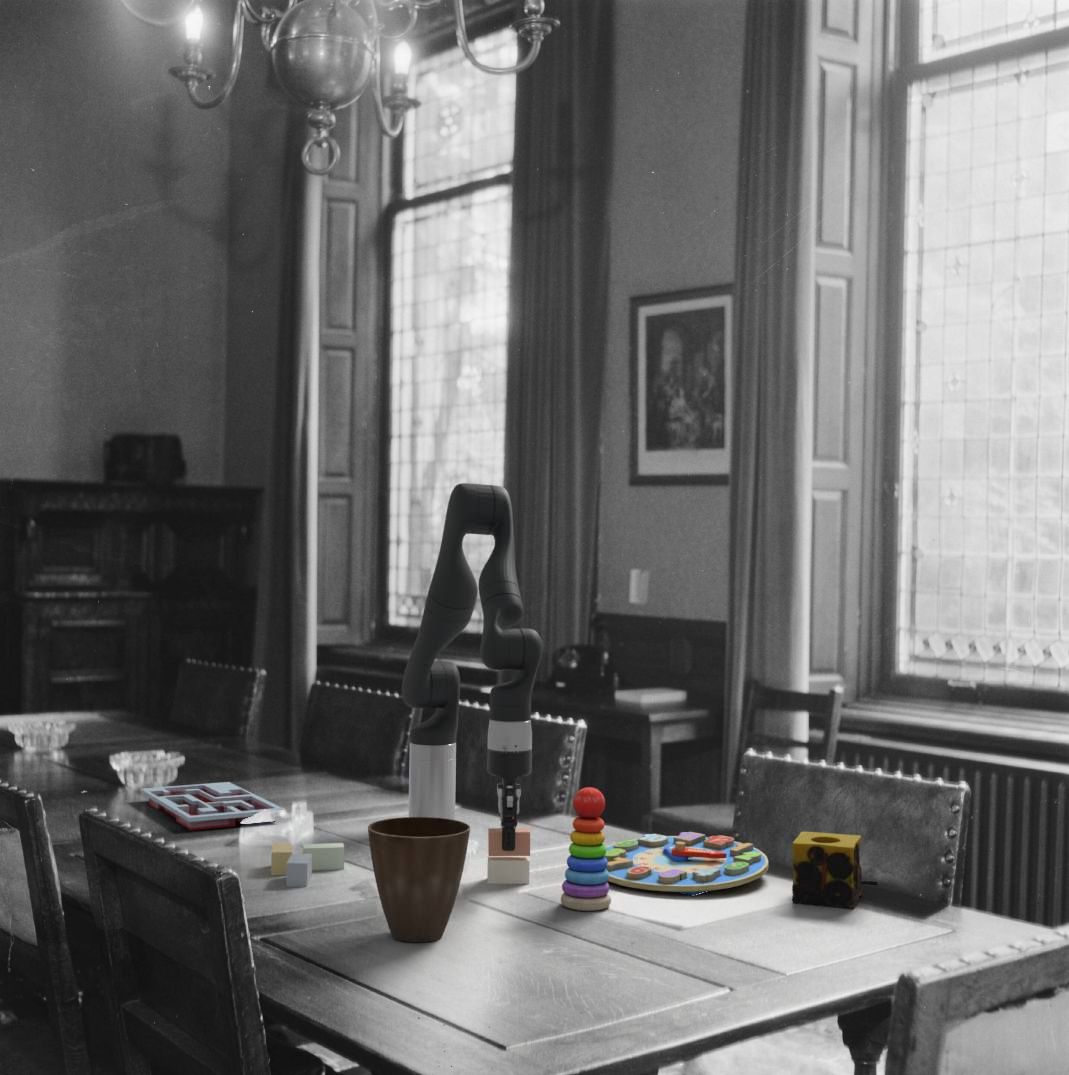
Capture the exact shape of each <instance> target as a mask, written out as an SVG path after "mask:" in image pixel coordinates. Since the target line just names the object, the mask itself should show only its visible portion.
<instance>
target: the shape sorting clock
mask: <svg viewBox="0 0 1069 1075" xmlns="http://www.w3.org/2000/svg"><path fill="white" fill-rule="evenodd" d="M605 846H606V845H605ZM606 849H607V851H606V854H605V856H604V857H605V858H606V859H607V861H608V865H607V867H606V868H605V869H607V871H608V872H609V878H608V880H607V881H606V882H609V883H612V884H616V885H619V886H623V887H628V888H633V889H638V890H639V889H640V890H647V891H656V892H657V891H658V892H671V893H672V892H673V893H674V892H675V893H678V892H682V893H681V894H683V893H685V894H684V895H687V894H690V895H689V896H691V895H696V894H699V893H702V892H706V891H709V892H711V891H710V890H712V891H717V890H723V889H729V888H734V887H738V886H742V885H745V884H748V883H750V882H753V881H755V880H757V879H760V878H761V877H762V876H764V875H765V874H766V873H767V872H768V870H769V859H768V856H767V855H766V854H765V853H764V852H763V851H761V850H760V849H758V848H756V847H754V843H750V842H746V843H745V842H744V843H742V842H739V841H735V838H734V837H732V836H728V835H727V836H726V835H720V834H719V835H711V836H708V837H707V836H706V834H704V833H700V832H694V831H688V832H687V831H686V832H685V831H682V832H680V833H679V834H678V835H663V834H658V833H651V834H649V833H646V834H643V835H642V837H640V838H635V839H634V838H633V839H630V840H622V841H620V842H619V841H618V842H616V843H612V844H610V845H607V846H606ZM706 893H707V892H706ZM702 894H703V893H702ZM699 895H700V894H699ZM696 896H697V895H696Z"/></svg>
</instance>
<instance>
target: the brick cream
mask: <svg viewBox="0 0 1069 1075" xmlns="http://www.w3.org/2000/svg"><path fill="white" fill-rule="evenodd" d="M486 876H487V878H486V879H487V884H496V885H498V884H500V885H501V884H502V885H503V884H504V885H505V884H507V885H508V884H510V885H511V884H512V885H513V884H514V885H516V884H517V885H528V884H530V856H489V855H488V856H487V875H486Z"/></svg>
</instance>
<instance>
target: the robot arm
mask: <svg viewBox="0 0 1069 1075" xmlns="http://www.w3.org/2000/svg"><path fill="white" fill-rule="evenodd" d="M446 507H447V509H446V514H445V520H444V525H443V531H442V536H441V537H442V538H441V541H440V548H439V551H438V556H437V561H436V564H435V567H434V572H433V574H432V578H431V582H430V585H429V588H428V592H427V596H426V599H425V604H424V608H423V612H422V613H423V614H422V617H421V622H420V626H419V630H418V632H417V636H416V640H415V641H414V645H413V646H412V647H413V648H412V650H411V653H410V655H409V658H408V660H407V664H406V667H405V670H404V672H403V678H402V683H401V695H402V700H403V702H404V704H405V705H406V706H407V707H409V708H413V709H436V710H435V711H434V713H433V714H432V716H431V717H430V718H429V719H427V720H425V721H423V722H421V723H419V724H416V725H414V726H412V727H411V728H410V731H409V764H408V766H409V767H408V768H409V771H408V772H409V773H408V776H409V777H408V779H409V780H408V817H434V818H445V819H452V820H456V787H457V786H456V783H457V782H456V781H457V780H456V778H457V777H456V774H457V771H456V770H457V769H456V768H457V766H456V765H457V757H456V756H457V735H458V734H457V733H458V728H459V727H458V725H459V708H460V707H459V706H460V696H461V694H460V693H461V677H460V672H459V669H458V666H457V665H456V663H454V662H452V661H449V660H445V661H443V660H442V661H441V660H439V661H435V660H436V659H437V657H438V656H439V654H441V652H442V651H443V650H444V649H445V648H446V647H447V646H448V645H449V644H450V643H452V642H453V640H455V638H457V637H458V636H459V635H460V634H461V633H462V632H463V631H464V630H465V629H466V628H467V626H468V625H469V624H470V622H471V619H472V617H473V612H474V609H475V607H476V602H477V598H478V594H479V600H480V604H481V605H480V606H481V609H482V616H483V618H482V619H483V624H482V626H483V627H482V628H483V629H482V636H481V641H480V648H479V655H480V659H481V661H482V663H483V665H484V666H485V667H486V668H488V669H489V670H493V671H517V673H516V675H515V677H513V679H512V680H510V681H508V682H502V683H499V684H496V685H494V686H492V687H491V689H490V693H489V722H488V729H487V757H486V758H487V759H486V761H487V762H486V764H487V766H486V767H487V768H486V772H487V773H488V774H489V775H491V776H493V777H500V778H501V783H497V786H496V791H497V792H496V793H497V794H496V795H497V797H498V800H497V801H498V803H497V805H498V806H497V807H498V813H499V815H500V818H499V821H500V827H501V828H502V850H504V851H513V850H515V828H517V826H518V818H517V817H518V814H519V813H520V797H521V795H522V786H521V783H517V779H518V778H519V777H527V776H529V775H530V774H531V773H532V767H533V766H532V764H533V763H532V762H533V761H532V759H533V756H532V755H533V753H532V752H533V751H532V750H533V747H532V746H533V730H532V722H531V721H532V720H531V718H532V714H531V713H532V693H533V689H534V686H535V679H536V677H537V673H538V669H539V666H540V663H541V660H542V655H543V649H544V648H543V647H544V646H543V641H542V638H541V636H540V634H539V633H538V631H537V630H535V629H532V628H512V627H514V626H516V625H518V624H519V623H520V622H521V621H522V619H523V618H524V605H523V602H522V596H521V591H520V586H519V583H518V576H517V570H516V555H515V554H516V552H515V533H514V532H515V531H514V520H513V518H514V517H513V516H514V515H513V507H512V502H511V498H510V494H509V492H508V491H507V489H506V488H505V487H503V486H500V485H493V484H481V483H480V484H479V483H466V482H465V483H458V484H456V485H455V486H454V487H453V489H452V490H451V493H450V496H449V498H448V503H447V506H446ZM470 534H471V535H485V536H493V540H494V546H493V550H492V551H491V554H490V555H489V557H488V559H487V561H486V562H485V564H484V565H483V568H482V570H481V572H480V575H479V579H478V585H477V580H476V578H475V575H474V573H473V571H472V569H471V567H470V565H469V563H468V561H467V558H466V556H465V552H464V549H463V541H464V538H465V536H466V535H470Z"/></svg>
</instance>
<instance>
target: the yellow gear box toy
mask: <svg viewBox="0 0 1069 1075" xmlns="http://www.w3.org/2000/svg"><path fill="white" fill-rule="evenodd" d="M861 844H862V836H861V835H859V834H857V835H856V834H844V833H832V832H830V833H828V832H818V831H801V832H800V833H799V834H798V836H797V837H796V838H795V839H794V840H793V842H792V861H791V862H792V865H793V876H792V879H793V880H792V887H791V892H792V897H791V898H792V899H791V902H792V901H793V902H792V903H794V902H796V903H795V904H798V903H801V904H800V905H810V904H812V906H819V905H823V906H822V907H829V908H830V907H832V908H841V909H855V907H856V906H857V905H858V903H859V901H860V897H861V896H862V895H863V885H862V879H863V875H862V867H861V864H860V859H861V857H860V852H861Z"/></svg>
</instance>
